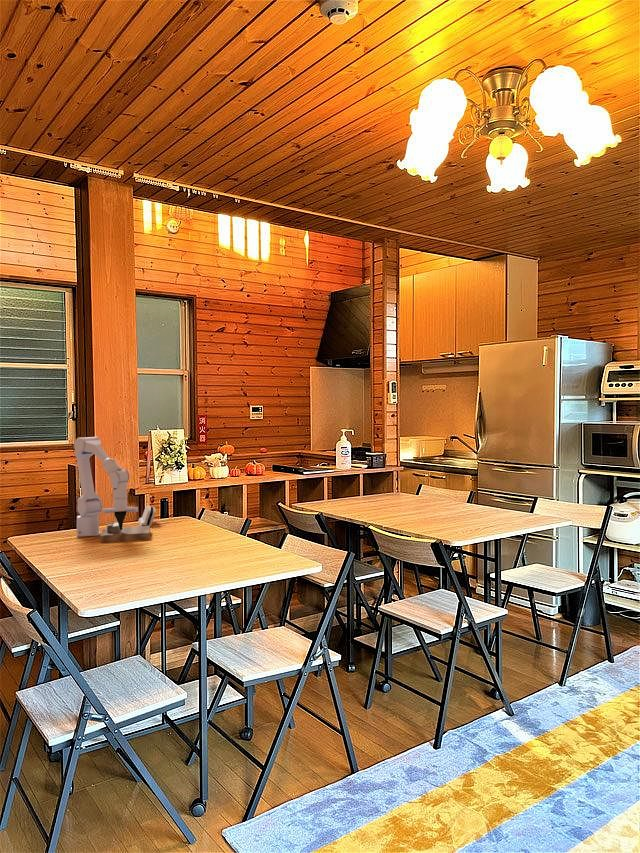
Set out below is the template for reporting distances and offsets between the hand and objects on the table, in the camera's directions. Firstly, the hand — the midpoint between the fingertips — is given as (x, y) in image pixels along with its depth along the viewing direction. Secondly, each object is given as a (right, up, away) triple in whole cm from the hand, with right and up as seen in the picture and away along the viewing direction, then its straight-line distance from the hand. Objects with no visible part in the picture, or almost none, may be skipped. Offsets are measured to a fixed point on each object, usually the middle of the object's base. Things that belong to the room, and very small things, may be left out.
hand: (120, 529), depth 286 cm
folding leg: (-3, -1, +4) cm, 5 cm away
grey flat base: (+1, -4, +4) cm, 6 cm away
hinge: (+2, -4, +38) cm, 38 cm away
